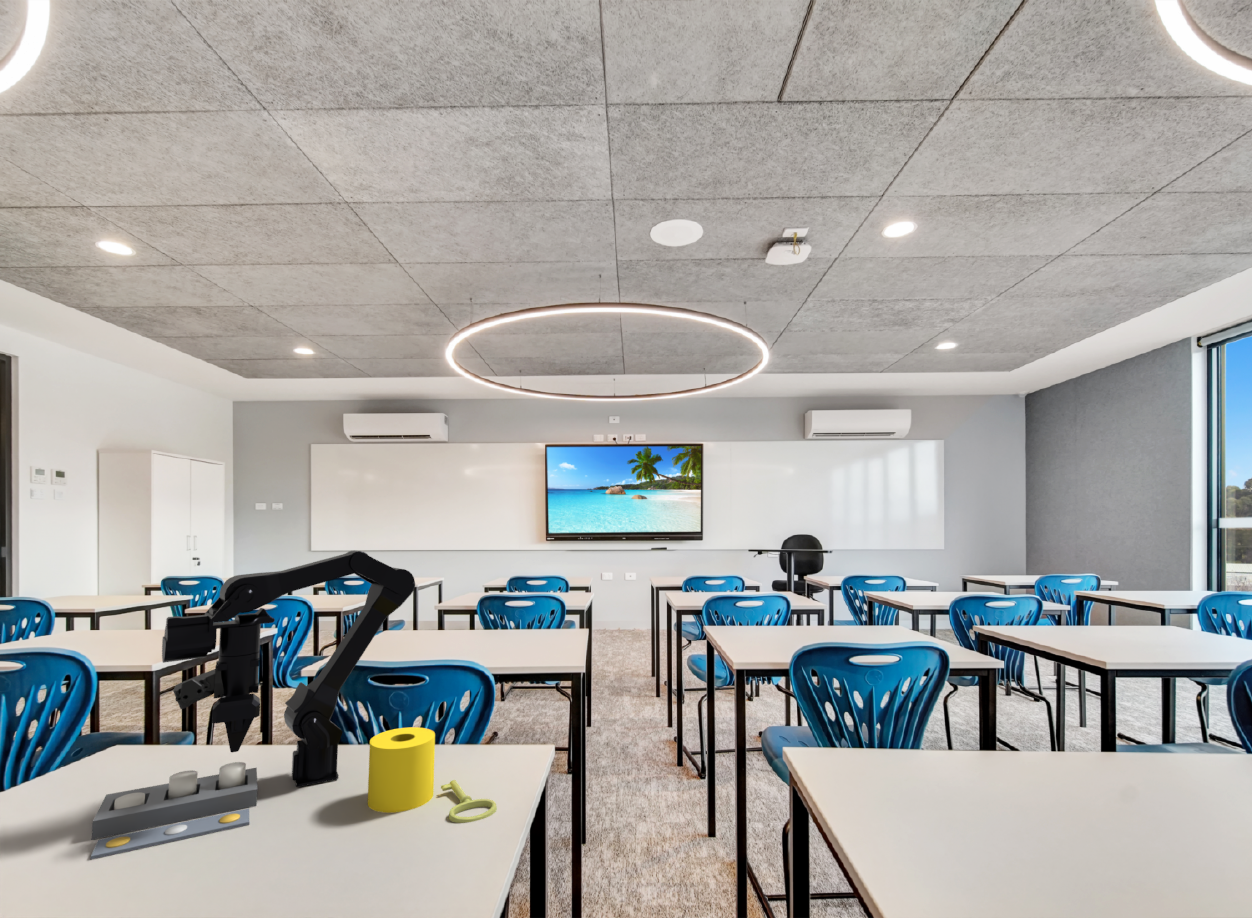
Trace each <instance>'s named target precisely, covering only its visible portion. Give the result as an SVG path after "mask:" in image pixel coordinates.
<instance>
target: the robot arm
mask: <svg viewBox="0 0 1252 918" xmlns="http://www.w3.org/2000/svg"><path fill="white" fill-rule="evenodd" d="M353 574H354V575H356V576H358V577H359V578H360V579H362V580H364V581H366V582H367V583H369V584H370V587H369V588H368V592H367V595H366V599H365V604H364V606H363V608H362V610H361V611H360V612H359V614H358V615H357V617H356V619H355V620H354V621H353V623H352V625H351V627H350V628H349V629H348V630H347V633H346V634H345V635H344V637H343V638H342V640H341V641H340V643H339V644H338V646H337V647H336V649H335V651H334V652H333V654H332V655H331V656H330V657H329V659H328V661H327V662H326V664H325V665H324V667H323V668H322V670H321V672H320V673H318V674H319V675H318V676H317V677H316V678H315V679H313V680H312V681H311V682H310V683H309V684H307V685H306V684H305V683H303V682H301V681H300V682H299V683H298V685H297V687H296V688H295V691H294V693H293V694H292V695H291V697H290V698H289V699H288V700H286V701H285V703H284V704H285V705H286V708H285V710H284V712H283V713H284V714H283V719H284V722H285V724H286V726H287V727H288V728H289V730H290V731H291V732H292V733H293V734H294V735H295V736H296V737H297V738H299V740H297V741H296V750H293V751H292V761H291V779H292V781H293V782H295V787H296V788H301V787H306V786H309V785H314V784H321V783H326V782H330V781H336V780H338V779H339V776H340V775H339V773H338V754H339V743H340V741H341V738H342V735H343V732H344V731H343V729H341V728H340V727H338V726H337V725H336V724H335V723H334V722H332V721H331V719H332V716H333V714H334V712H335V710H336V707H337V702H338V699H339V695H340V692H341V689H342V687H343V686H344V684H345V682H346V681H347V679H348V677H349V676H350V675H351V673H352V672H353V670H354V668H355V667H356V666H357V664H358V662H359V661H360V659H361V657H362V656H363V654H364V653H365V651H366V650H367V648H368V646H369V645H370V644H371V642H372V641H373V638H374V637H375V636H376V634H377V633H378V632H379V630H380V628H381V627H382V625H383V624H384V622H385V621H386V619H387V618H388V617H390V615H392V614H393V613H395V611H396V610H398V609H399V608H400V607H401V606H402V605H404V603H405V602H406V600H407V599H408V598H410V596H411V595H412V594H413V592H414V589H415V588H416V582H415V577H414V575H413V573H411V571H409V570H407V569H405V568H399V567H392V566H389V565H388V564H386V563H384V562H382V561H380V560H378V559H376V558H374V557H373V556H370V555H369V554H368V553H366V552H365V551H361V550H350V551H348V552H346V553H343V554H340V555H336V556H335V555H334V556H332V557H329V558H325V559H320V560H317V561H313V562H309V563H307V564H303V565H298V566H295V567H291V568H287V569H284V570H278V571H268V572H256V573H246V574H238V575H234V576H232V577H229V578H228V579H226V581H224V583H223V584H222V586H221V587H220V589H219V596H218V598H217V599H216V600H215V602H214V603H213V604H212V605H211V606H210V607H209V608H208V609H207V611H206V612H205V613H204V614H202V615H201V614H199V615H189V616H175V615H174V616H168V617H166V619H165V620H166V621H165V628H164V636H162V640H161V641H162V643H161V645H162V646H161V659H162V663H165V664H166V663H171V662H173V663H174V662H178V661H179V662H180V661H188V660H195V659H196V660H197V659H204V658H207V656H208V653H212V651H215V650H216V647H217V629H219V641H218V643H219V646H218V648H219V649H218V660H216V664H215V667H214V668H215V669H212V670H209V671H206V672H203V673H201V674H198V675H196V676H193V677H191V678H188V679H186V680H183V681H182V682H179V683H178V684H176V685H175V686H174V688H173V689H172V690H173V694H174V697H175V702H177V704H178V707H179V709H180V710H183V709H187V708H189V707H191V706H192V704H195V703H197V702H199V701H202V700H204V699H206V698H208V697H211V696H213V699H218V700H216V702H214V703H213V705H212V711H211V724H222V723H224V725H225V730H226V735H227V740H228V746H229V751H230V753H237V752H239V751H240V748H241V746H242V745H243V743H244V740H245V738H246V736H247V734H248V731H249V730H250V727H251V725H252V723H253V721H254V719H255V718H258V717H260V714H261V699H260V697H259V696H257V695H256V694H257V693H259V685H260V684H259V683H260V682H259V680H260V679H259V670H260V669H259V668H260V650H261V648H260V645H261V625H263V624H265V625H266V624H271V623H274V622H275V621H276V619H275V618H274V617H272V616H271V615H270V614H269V613H268V612H267V611H266V609H265V608H264V607H263V606H265V605H268V604H270V603H273V602H274V601H276V600H277V599H279V598H281V597H282V596H284V595H287V594H288V593H292V592H295V591H298V590H302V589H305V588H309V587H312V586H315V585H319V584H323V583H325V582H326V583H327V582H329V581H333V580H337V579H339V578H343V577H346V576H349V575H353ZM257 609H258V610H257ZM255 610H257V611H256V612H255V613H250V612H254V611H255ZM233 618H234V619H233ZM231 619H233V620H231Z"/></svg>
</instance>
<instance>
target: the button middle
mask: <svg viewBox="0 0 1252 918" xmlns="http://www.w3.org/2000/svg"><path fill="white" fill-rule="evenodd" d="M198 773H199V772H198V771H197V770H183V771H179V772H176V773H173V774H172V775H170V776H169V781H168V783H169V792H168V799H174V798H180V797H185V796H190V795H195V794H196V791H197V778H198Z"/></svg>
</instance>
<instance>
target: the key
mask: <svg viewBox="0 0 1252 918" xmlns="http://www.w3.org/2000/svg"><path fill="white" fill-rule="evenodd" d="M440 789H441V790H442V792H447V791H449V790H452V792H453V793H454V794H455V796H456V798H457V799H458V801H459V804H456V805H455V806H452V807H451V809H450V810H449V812H448V813H449V814H448V820H449V821H450V822H453V823H455V824H468V823H473V822H477V821H480V820H484V819H487V818H489V817H490V816H493V815H494V814H495V813H496V812H497V803H496V802H495V801H494V800H492V799H490V798H489V799H488V798H476V799H473V798H472V797H471V795H468V794H466V792H465V791H464V790H463V789H462V788H461V786H460V784H459V783H458V782H457V780H455V779H453V780H450V782H449V783H447V784H442V785H440ZM484 807H486V808H489V809H488V810H487V811H485V812H483V813H480V814H477V815H473V816H460V815H457V814H459V813H462V812H465V811H467V810H471V809H476V808H477V809H478V808H484Z"/></svg>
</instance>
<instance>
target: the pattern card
mask: <svg viewBox="0 0 1252 918" xmlns="http://www.w3.org/2000/svg"><path fill="white" fill-rule="evenodd" d="M249 825H250V808H243V809H238V810H234V811H229V812H224V813H219V814H214V815H209V816H205V817H200V818H195V819H190V820H185V821H180V822H176V823H171V824H166V825H161V826H156V827H152V828H147V829H142V830H137V831H132V832H128V833H123V834H118V835H113V836H108V837H104V838H99V839H97V841H96V844H95V846H94V849H93V850H92V852H91V855H90V860H95V859H100V858H103V857H107V856H114V855H117V854H122V853H126V852H131V851H132V852H133V851H135V850H136V851H137V850H140V849H144V848H149V847H150V848H151V847H154V846H157V845H162V844H167V843H173V842H177V841H180V840H185V839H190V838H194V837H199V836H203V835H204V836H205V835H208V834H213V833H214V834H215V833H216V832H217V833H218V832H222V831H227V830H231V829H235V828H236V829H237V828H240V827H245V826H249Z"/></svg>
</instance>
